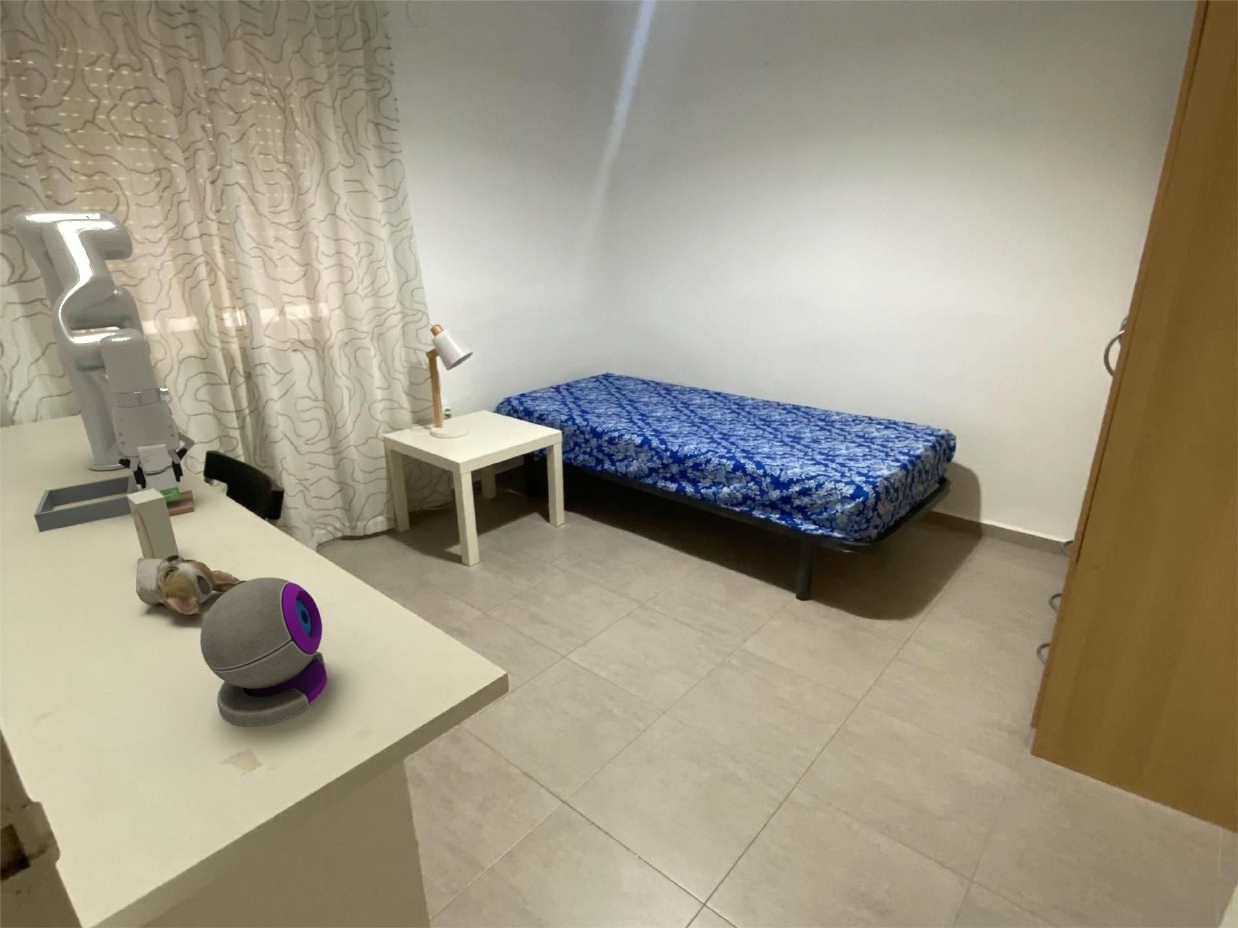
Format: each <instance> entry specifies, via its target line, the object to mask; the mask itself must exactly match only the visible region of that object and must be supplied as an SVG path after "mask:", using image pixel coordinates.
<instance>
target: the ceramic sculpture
mask: <svg viewBox="0 0 1238 928" xmlns="http://www.w3.org/2000/svg"><path fill="white" fill-rule="evenodd" d="M135 578H136V579H135V580H136V582H135V585H136V588H135V593H136V594H137V597H138V598H139V600H140V601H141V602H143V603H144V604H145V605H147V606H156V605H158V604H164V606H165V608H167V609H168V611H170V612H171V613H172V614H174V615H176V616H177V617H179V618H182V619H183V618H185V619H186V618H195V617H196V618H197V617H199V616H201V614H202V613H201V611H202V606H203V605H202V604H203V603H204V602H207V600H209V598H210V597H211V596H212V594H213V592H218V593H225V592H227V591H228V590H230V589H231V588H233V587H235V586H236V585H238V584H241V583H243V582H246V581H247V580H242V579H241V580H240V579H239V578H237V577H235V576H233V575H232V574H231V573H229V572H224V571H222V570H219V569H218V570H211V568H210V567H208V566H207V564H206V563H204V562H201V561H197V560H196V559H185V558H184V557H183V556H181V555H179V556H178V555H171V556H169V557H168V558H165V559H164V560H162V559H146V558H144V557H139V558H138V559H137V567H136V577H135Z"/></svg>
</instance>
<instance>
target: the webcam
mask: <svg viewBox="0 0 1238 928" xmlns="http://www.w3.org/2000/svg"><path fill="white" fill-rule="evenodd" d="M245 581H246V582H243V583H241V584H238V585H236V586H235V587H233V588H231V589H230V590H228V591H227V592H223V594H222V595H221V596H220V597H218V598H217V599H216V600H215V602H214V603H213V604H212V605H211V607H210V608H209V609H208V611H207V613H206V615H205V617H204V620H203V623H202V625H201V628H200V629H201V630H200V650H201V654H202V657H203V659H204V662H205V663H206V665H207V666H208V667H209V669H210V671H212V673H213V674H215V675H216V676H217V677H218V678H219V679H221V680H222V681H223V683H222V684H221V686H220V687H219V690H218V692H217V698H216V703H217V707H218V710H219V714H220V716H221V717H222V719H224V720H225V721H226V722H229V723H230V724H232V725H233V724H234V725H236V726H237V725H238V726H243V727H256V726H257V727H258V726H267V725H270V724H275V723H279V722H282V721H285V720H287V719H290V718H292V717H295V716H297V715H299V714H301V713H303V712H305V711H306V710H308V709H310V705H309V703H311V702H313V701H314V700H315V699H316V698H317V697H318V696H319V695H320V694H321V692H322V691H323V690H324V689H325V686H326V685H327V680H328V675H327V670H326V666H325V665H324V662H325V661H324V657H323V653H322V652H321V651H318V650H319V647H320V644H321V641H322V636H323V622H322V617H321V614H320V610H319V607H318V605H317V603H316V602H315V600H314V598H313V597H312V595H311V594H309V592H308V591H307V590H306V589H305V588H304V587H302V586H301V585H300V584H297V583H295V582H292V581H289V580H287V579H284V578H283V579H282V578H278V577H257V578H252V579H249V580H245Z"/></svg>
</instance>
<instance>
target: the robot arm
mask: <svg viewBox="0 0 1238 928" xmlns="http://www.w3.org/2000/svg"><path fill="white" fill-rule="evenodd" d="M12 225H13V231H14V232H15V235H16V237H17V240H18V241H19V243H20V244H21V246H22V247H23V249H24V251H26V253H27V254H28V256H30V258H31V259H32V260H33V262H34V263H35V264H36V266H37V268H38V270H39V272H40V275H41V277H42V281H43V285H44V288H45V291H46V292H45V293H46V294H47V297H48V298H47V299H48V301H49V304H50V308H51V313H50V314H51V315H50V327H51V331H52V334H53V337H54V339H55V342H56V344H57V346H56V349H55V353H56V356H57V358H58V361H59V364H60V366H61V367H62V369H63V371H64V373H65V375H66V377H67V379H68V382H69V384H70V387H71V389H72V392H73V395H74V399H75V401H76V404H77V406H78V407H77V408H78V411H79V414H80V417H81V420H82V423H83V426H84V429H85V432H86V435H87V439H88V443H89V445H90V450H91V452H92V455H93V459H90V460H89V461H88V462H87V467H88V468H89V469H90V470H92V471H93V470H94V471H113V470H119V469H124V468H126V469H129V470H130V471H132V473H133V474H132V475H134V478H135V481H136V484H137V486H138V485H140V488H141V490H144V489H145V490H146V488H147V484H146V481H145V478H144V474H143V471H142V467H141V465H140V461H139V454H138V450H137V447H141V446H148V445H157V444H166V447H167V450H168V454H169V457H170V459H171V464H172V467H173V471H174V474H175V478H176V482H177V483H181V477H184V472H183V468H182V464H181V461H182V460H183V459H184V457H185V456H186V455H187V453H188V452H189V451H190V450H191V449H192V448H193V447H194V446H195V444H196V441H195V439H194V440H193V438H191V437H190V436H188V435H186V434H185V433H183V432H182V431H180V430H178V426H177V424H176V420H175V418H174V415H173V412H172V409H171V407H170V405H169V403H168V402H167V399H162V398H163V397H165V396H169V394H170V393H169V390H168V387H167V388H164V387H162V388H161V387H159V385H158V382H157V379H156V375H155V370H154V367H153V363H152V359H151V354H152V353H151V352H152V350H151V346H150V344H151V343H149V339H148V337H147V335H145V334H144V330H143V324H142V322H141V317H140V313H139V309H138V306H137V303H136V300H135V298H134V296H133V294H132V293H131V292H130V290H128V289H127V287H124V286H122V285H118V284H117V285H116V284H115V280H114V279H113V276H112V274H111V271H110V270H109V268H108V265H107V263H106V261H115V260H116V261H117V260H127V259H130V258H131V256H132V255H133V250H134V249H133V242H132V238H131V236H130V234H129V232H128V229H127V228H126V226H125V225H124V224H123V223H122V222H121V221H120V220H119V219H118V218H117V217H116V216H114V215H112V214H111V213H109V212H107V211H106V210H98V209H97V210H90V209H89V210H87V209H84V210H79V209H78V210H33V211H26V212H22V213H21V212H20V213H18V214H17V215H16V216H14V218H13V221H12ZM105 328H106V329H105ZM107 328H116V329H109V330H108V329H107ZM97 329H105V330H98V331H97ZM87 330H96V331H88V332H80V333H74V332H73V331H87ZM181 442H183V443H184V444H183V446H181ZM179 447H180V448H179ZM178 448H179V450H178V451H177V449H178Z"/></svg>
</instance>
